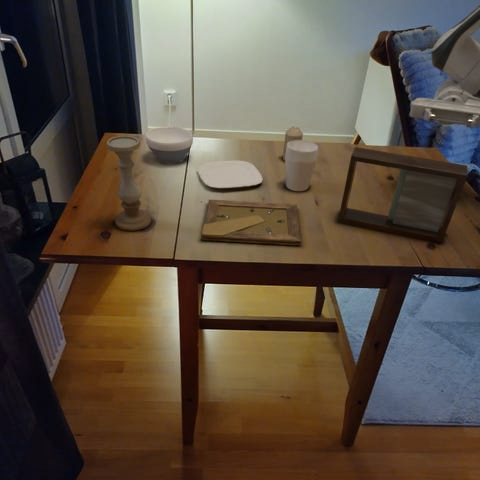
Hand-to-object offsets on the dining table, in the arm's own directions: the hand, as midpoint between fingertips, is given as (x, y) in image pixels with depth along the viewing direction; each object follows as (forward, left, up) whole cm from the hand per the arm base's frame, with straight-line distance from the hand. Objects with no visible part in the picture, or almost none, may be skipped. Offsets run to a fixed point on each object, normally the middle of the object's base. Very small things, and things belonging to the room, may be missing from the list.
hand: (450, 121), depth 115 cm
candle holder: (+79, +15, -23) cm, 83 cm away
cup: (+35, -9, -23) cm, 43 cm away
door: (+8, +12, -21) cm, 25 cm away
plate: (+55, -13, -23) cm, 61 cm away
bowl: (+74, -26, -23) cm, 82 cm away
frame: (+13, +13, -23) cm, 29 cm away
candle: (+35, -29, -23) cm, 51 cm away
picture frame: (+49, +14, -23) cm, 56 cm away
